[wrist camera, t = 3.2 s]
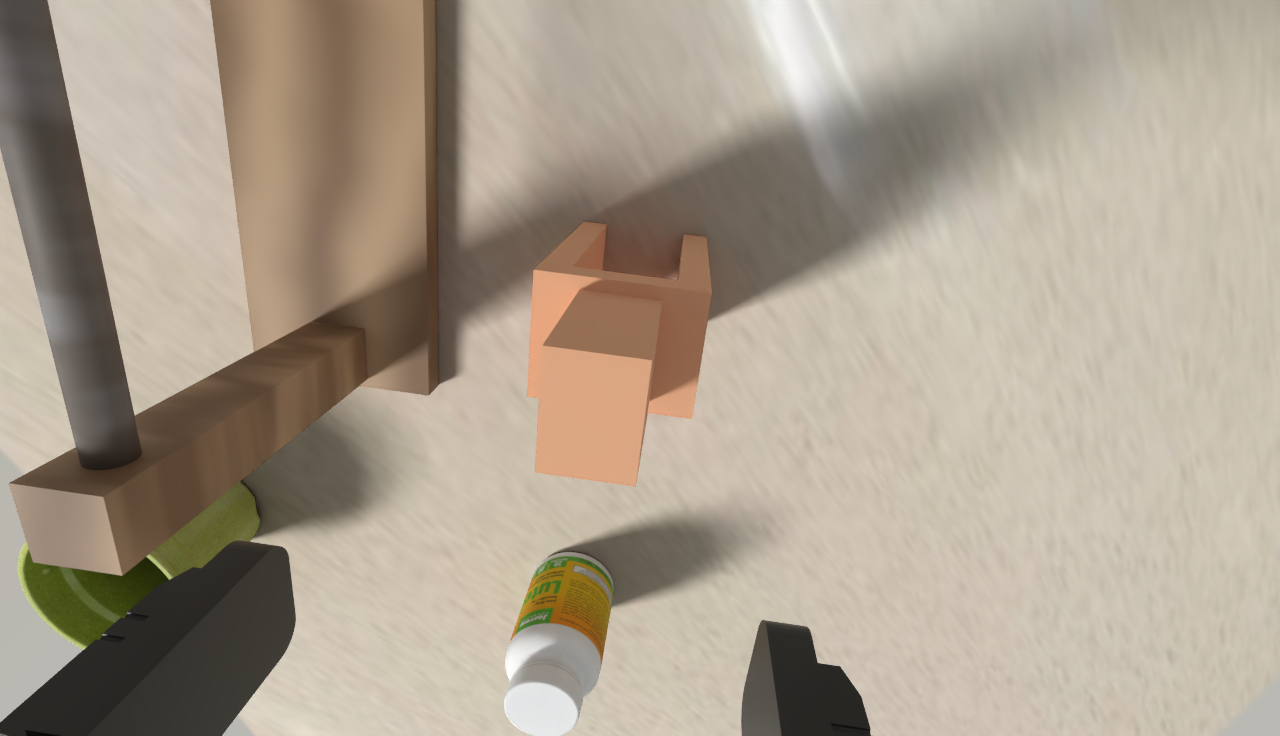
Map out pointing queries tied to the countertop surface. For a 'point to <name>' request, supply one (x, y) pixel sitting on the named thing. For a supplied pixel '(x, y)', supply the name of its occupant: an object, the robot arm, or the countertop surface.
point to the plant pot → (132, 571)
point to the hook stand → (271, 251)
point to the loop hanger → (611, 354)
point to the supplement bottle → (558, 644)
